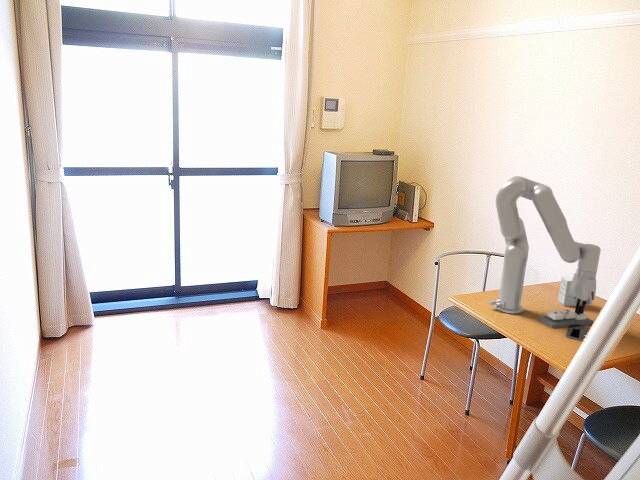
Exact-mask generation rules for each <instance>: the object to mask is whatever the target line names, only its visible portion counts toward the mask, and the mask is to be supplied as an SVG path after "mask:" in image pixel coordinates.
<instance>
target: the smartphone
mask: <svg viewBox="0 0 640 480" xmlns="http://www.w3.org/2000/svg"><path fill="white" fill-rule="evenodd" d="M588 330H589V331H590V327H589V326H586V325H578V324H577V325H570V326H568V329H567V331H566V333H565V337H566V338H567V339H568V338H569V339H573V340H577V341H581V342H584V341H583V339H584V338H585V336H584V335H586V334H587V332H588V333H589V331H588ZM587 335H588V334H587Z"/></svg>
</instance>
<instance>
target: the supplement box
mask: <svg viewBox="0 0 640 480" xmlns="http://www.w3.org/2000/svg"><path fill="white" fill-rule="evenodd" d="M573 276H574V275H561V279H560V287H559V291H558V292H559V293H558V298H557V300H558V302H560V304H561V305H562V306H563V307H565V306H566V307H576V303H575V298H574V297H573V296H572V295H571V294H570V293H569V291H570V286H571V282H572V279H573Z"/></svg>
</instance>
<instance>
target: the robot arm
mask: <svg viewBox="0 0 640 480" xmlns="http://www.w3.org/2000/svg"><path fill="white" fill-rule="evenodd" d="M520 197H521V198H523V199H526V200H529V201H531V202H532V203H533V205H534V207H535V209H536V211H537V213H538V214H539V217H540V219H541V221H542V223H543V225H544V227H545V230H546V231H547V233H548V234H549V237H550V239H551V240H552V243H553V245H554V247H555V249H556V250H557V253H558V255H559V257H560V258H561V260H562V261H564V262H565V263H568V264H573V263H576V262H577V266H576V269H575V270H576V272H575V273H574V274H573V275H572V276H573V279H572V282H571V286H570V291H569V293H570V294H571V295H572V296H573V297H574V298H575V303H576V306H575V308H574V309H575V310H574V311H575V313H577V314H582V313H584V312H585V307H586V306H587V305H592V304H593V301H594V300H595V298H596V293H597V292H596V291H597V278H596V277H597V273H598V267H599V262H600V255H601V251H602V250H601V247H600V246H599V245H596V244H591V243H582V242H578V241H575V240H574V238H573V236H572V233H571V232H570V228H569V226H568V221H567V219H566V217H565V215H564V213H563V211H562V209H561V207H560V205H559V203H558V200H557V199H556V198H555V196H554V192H553V190H552V188H551V187H550V186H549V185H547V184H543V183H542V182H541V183H540V182H537V181H536V180H535V181H534V180H532V179H529V178H526V177H523V176H519V175H517V176H512V177H511V178H509V179H508V181H506V183H504V185H503V186H502V187H500V189H499V190H498V192H497V194H496V197H495V206H496V212H497V213H496V214H497V218H498V222H499V227H500V229H499V230H500V233H501V235H502V237H503V238H504V242H505V246H506V247H505V251H504V256H503V263H502V264H503V266H502V271H501V281H500V286H499V287H500V288H499V293H498V297H496V299H495V300H489V301H488V305H490V306H494V308H495V309H496V310H497V311H500V312H502V313H507V314H511V315H512V314H516V315H517V314H521V313H523V312H524V307H523V306H522V305H521V302H522V298H523V297H522V296H523V290H524V282H525V277H526V276H525V275H526V270H527V265H528V263H527V262H528V258H529V252H530V251H529V250H530V246H529V241H528V236H527V233H526V228H525V224H524V221H523V219H522V217H520V215H519V210H518V206H517V201H518V199H519V198H520ZM584 314H585V313H584Z"/></svg>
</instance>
